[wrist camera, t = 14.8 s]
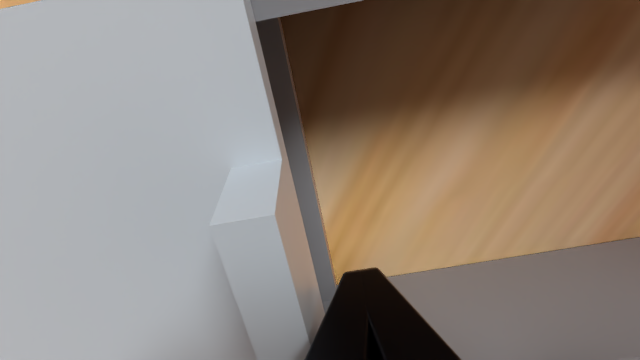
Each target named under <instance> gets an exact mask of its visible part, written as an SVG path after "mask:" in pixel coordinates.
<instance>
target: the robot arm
mask: <svg viewBox="0 0 640 360" xmlns="http://www.w3.org/2000/svg"><path fill="white" fill-rule="evenodd" d="M304 360H461V358H460V357H459V356H458V355H457V354H456V353H455V352H454V351H453V350H452V349H451V347H450V346H449V345H448V344H447V343H446V342H445V341H444V340H443V339H442V338H441V337H440V335H439V334H438V333H437V332H436V331H435V330H434V329H433V328H432V327H431V326H430V324H429V323H428V322H427V321H426V320H425V319H424V318H423V317H422V316H421V315H420V314H419V312H418V311H417V310H416V309H415V308H414V307H413V306H412V305H411V304H410V303H409V301H408V300H407V299H406V298H405V297H404V296H403V295H402V294H401V293H400V292H399V291H398V289H397V288H396V287H395V286H394V285H393V284H392V283H391V282H390V281H389V280H388V279H387V277H386V276H385V275H384V274H383V273H382V272H381V271H380V270H379V269H378V268H368V269H362V270H355V271H349V272H345V273H344V274H343V276H342V278H341V280H340V283H339V285H338V287H337V289H336V291H335V294H334V296H333V298H332V300H331V302H330V304H329V307H328V309H327V311H326V313H325V315H324V318H323V320H322V322H321V324H320V326H319V328H318V331H317V333H316V335H315V337H314V339H313V342H312V344H311V346H310V348H309V350H308V353H307V355H306V357H305V359H304Z"/></svg>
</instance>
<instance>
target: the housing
mask: <svg viewBox="0 0 640 360" xmlns="http://www.w3.org/2000/svg"><path fill="white" fill-rule="evenodd" d="M250 1H251V6H252V10H253V14H254V18H255V22H256V27H257V31H258V35H259V39H260V43H261V48H262V52H263V56H264V60H265V64H266V69H267V73H268V77H269V81H270V85H271V90H272V94H273V98H274V102H275V106H276V111H277V115H278V119H279V123H280V127H281V132H282V136H283V140H284V144H285V148H286V153H287V157H288V161H289V165H290V170H291V174H292V178H293V182H294V186H295V191H296V195H297V199H298V203H299V207H300V212H301V216H302V220H303V224H304V228H305V233H306V237H307V241H308V245H309V249H310V254H311V258H312V262H313V266H314V270H315V275H316V279H317V283H318V287H319V291H320V296H321V300H322V304H323V308H324V312H325V313H326V311H327V309H328V307H329V304H330V302H331V300H332V298H333V296H334V294H335V291H336V289H337V287H338V285H337V284H336V279H335V275H334V270H333V265H332V261H331V256H330V251H329V246H328V242H327V237H326V232H325V227H324V223H323V218H322V213H321V209H320V204H319V199H318V194H317V190H316V185H315V180H314V176H313V171H312V166H311V161H310V157H309V152H308V147H307V142H306V138H305V133H304V128H303V124H302V119H301V114H300V109H299V105H298V100H297V95H296V91H295V86H294V81H293V76H292V72H291V67H290V62H289V57H288V53H287V48H286V43H285V39H284V34H283V29H282V24H281V20H280V17H282V16H287V15H292V14H297V13H302V12H307V11H312V10H317V9H322V8H327V7H332V6H337V5H342V4H347V3H352V2H357V1H362V0H250ZM387 279H388V280H389V281H390V282H391V283H392V284H393V285H394V286H395V287H396V288H397V289H398V291H399V292H400V293H401V294H402V295H403V296H404V297H405V298H406V299H407V300H408V301H409V303H410V304H411V305H412V306H413V307H414V308H415V309H416V310H417V311H418V312H419V314H420V315H421V316H422V317H423V318H424V319H425V320H426V321H427V322H428V323H429V324H430V326H431V327H432V328H433V329H434V330H435V331H436V332H437V333H438V334H439V335H440V337H441V338H442V339H443V340H444V341H445V342H446V343H447V344H448V345H449V346H450V347H451V349H452V350H453V351H454V352H455V353H456V354H457V355H458V356H459V357H460V358H461V360H640V237H638V238H631V239H625V240H619V241H612V242H606V243H600V244H593V245H587V246H581V247H574V248H568V249H562V250H556V251H549V252H543V253H537V254H530V255H524V256H518V257H511V258H505V259H499V260H492V261H486V262H480V263H473V264H467V265H461V266H454V267H448V268H442V269H435V270H429V271H423V272H417V273H410V274H404V275H398V276H391V277H387Z"/></svg>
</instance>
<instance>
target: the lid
mask: <svg viewBox="0 0 640 360" xmlns="http://www.w3.org/2000/svg"><path fill="white" fill-rule="evenodd" d="M324 315H325V312H324V308H323V304H322V300H321V296H320V291H319V287H318V283H317V279H316V275H315V270H314V266H313V262H312V258H311V254H310V249H309V245H308V241H307V237H306V233H305V228H304V224H303V220H302V216H301V212H300V207H299V203H298V199H297V195H296V191H295V186H294V182H293V178H292V174H291V170H290V165H289V161H288V157H287V153H286V148H285V144H284V140H283V136H282V132H281V127H280V123H279V119H278V115H277V111H276V106H275V102H274V98H273V94H272V90H271V85H270V81H269V77H268V73H267V69H266V64H265V60H264V56H263V52H262V48H261V43H260V39H259V35H258V31H257V27H256V22H255V18H254V14H253V10H252V6H251V1H250V0H41V1H36V2H31V3H27V4H22V5H17V6H12V7H7V8H3V9H0V360H304V359H305V357H306V355H307V353H308V350H309V348H310V346H311V344H312V342H313V339H314V337H315V335H316V333H317V331H318V328H319V326H320V324H321V322H322V320H323V318H324Z"/></svg>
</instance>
